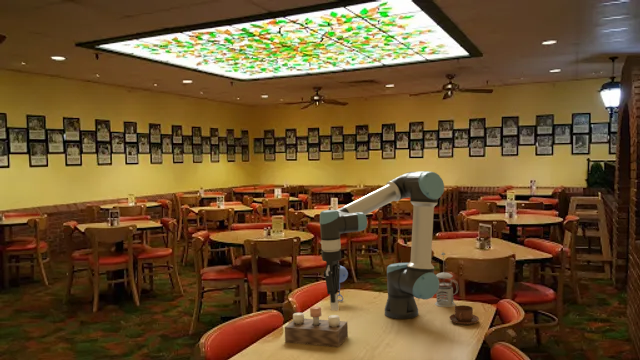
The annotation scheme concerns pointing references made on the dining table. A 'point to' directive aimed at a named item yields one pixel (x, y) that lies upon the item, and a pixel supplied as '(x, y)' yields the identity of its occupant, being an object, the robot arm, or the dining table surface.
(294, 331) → the knob console
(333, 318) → the knob near
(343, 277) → the baby rattle
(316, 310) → the knob middle
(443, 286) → the french press
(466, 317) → the cup and saucer
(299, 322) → the knob far
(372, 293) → the dining table surface
